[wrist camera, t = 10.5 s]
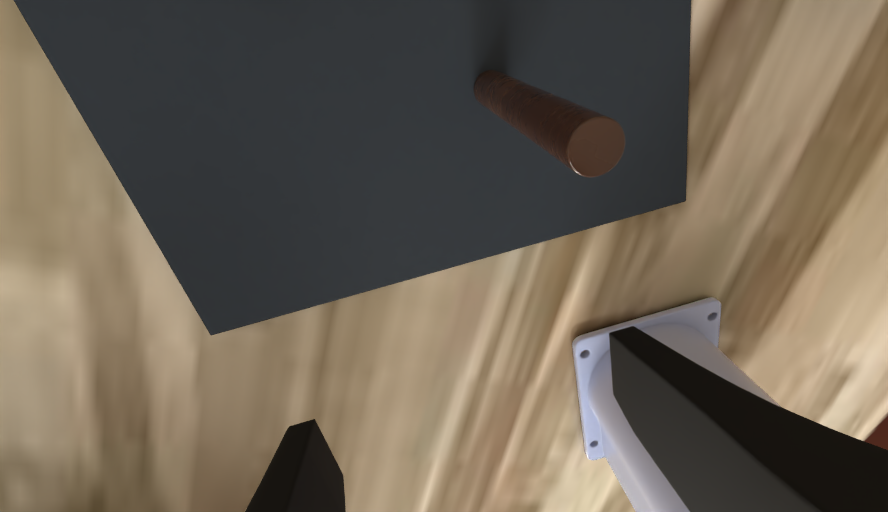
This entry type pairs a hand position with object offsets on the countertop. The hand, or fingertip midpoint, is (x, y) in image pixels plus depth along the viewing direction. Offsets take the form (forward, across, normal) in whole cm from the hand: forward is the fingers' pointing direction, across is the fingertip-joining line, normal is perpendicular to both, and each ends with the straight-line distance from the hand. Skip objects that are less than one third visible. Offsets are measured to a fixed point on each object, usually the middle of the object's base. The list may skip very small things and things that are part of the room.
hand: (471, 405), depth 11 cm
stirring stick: (+10, -4, -5) cm, 12 cm away
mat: (+10, -1, -5) cm, 12 cm away
